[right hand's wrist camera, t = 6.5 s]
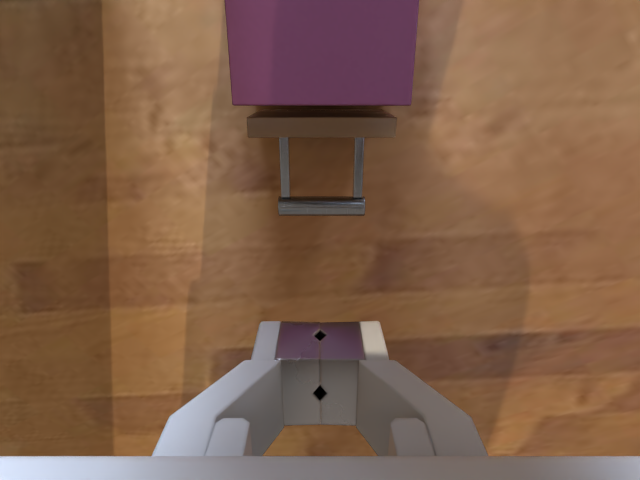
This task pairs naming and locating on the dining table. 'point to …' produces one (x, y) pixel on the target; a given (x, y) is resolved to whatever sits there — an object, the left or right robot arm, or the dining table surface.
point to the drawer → (321, 126)
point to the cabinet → (322, 52)
